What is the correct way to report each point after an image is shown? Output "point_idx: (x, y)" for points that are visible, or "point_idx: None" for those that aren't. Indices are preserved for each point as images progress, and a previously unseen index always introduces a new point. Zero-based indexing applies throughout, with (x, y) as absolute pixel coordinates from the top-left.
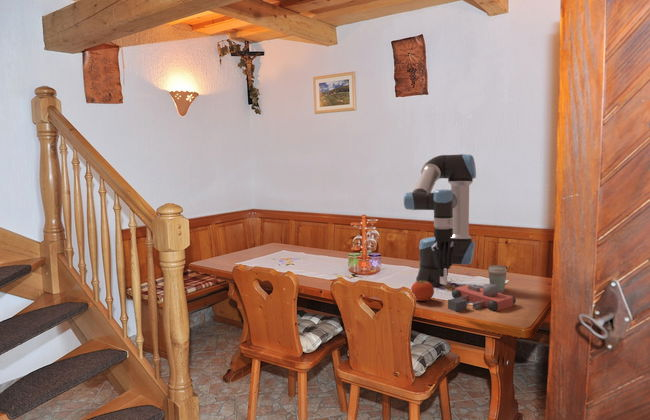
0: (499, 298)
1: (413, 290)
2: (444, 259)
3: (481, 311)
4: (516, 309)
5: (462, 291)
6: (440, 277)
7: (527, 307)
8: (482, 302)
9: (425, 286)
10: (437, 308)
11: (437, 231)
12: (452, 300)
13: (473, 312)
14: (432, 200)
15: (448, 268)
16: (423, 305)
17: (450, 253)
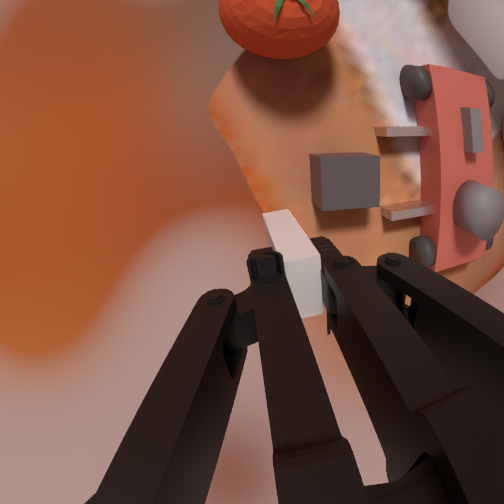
0: (458, 249)
1: (219, 7)
2: (355, 348)
3: (383, 239)
4: (453, 268)
5: (434, 107)
6: (269, 234)
7: (475, 268)
8: (423, 213)
9: (275, 31)
10: (271, 132)
11: None
12: (332, 175)
13: (357, 235)
14: None
15: (328, 328)
16: (239, 74)
17: (466, 381)
